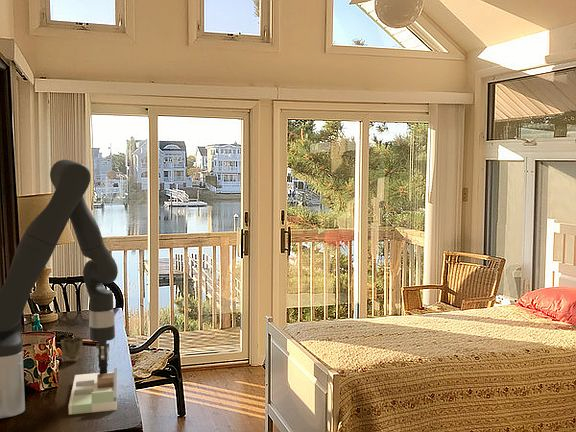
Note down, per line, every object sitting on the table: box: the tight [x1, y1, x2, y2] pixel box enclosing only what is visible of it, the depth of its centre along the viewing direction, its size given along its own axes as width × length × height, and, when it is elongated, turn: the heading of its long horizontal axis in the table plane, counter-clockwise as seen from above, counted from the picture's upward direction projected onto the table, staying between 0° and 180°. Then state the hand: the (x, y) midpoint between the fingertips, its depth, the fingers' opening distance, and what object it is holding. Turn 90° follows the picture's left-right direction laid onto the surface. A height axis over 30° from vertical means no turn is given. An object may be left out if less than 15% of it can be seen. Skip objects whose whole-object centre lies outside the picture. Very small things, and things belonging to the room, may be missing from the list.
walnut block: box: [97, 373, 113, 388], centre depth 197 cm, size 4×4×3 cm
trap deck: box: [68, 367, 118, 415], centre depth 195 cm, size 28×13×6 cm, turn 15°
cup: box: [60, 336, 84, 363], centre depth 230 cm, size 8×7×8 cm
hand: (103, 378), depth 201 cm, fingers closed
